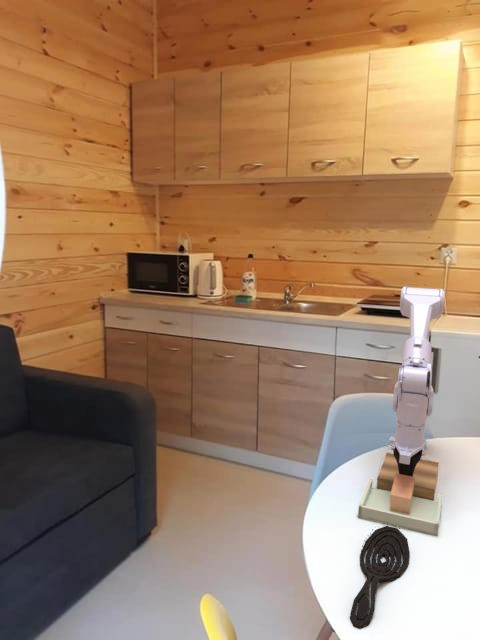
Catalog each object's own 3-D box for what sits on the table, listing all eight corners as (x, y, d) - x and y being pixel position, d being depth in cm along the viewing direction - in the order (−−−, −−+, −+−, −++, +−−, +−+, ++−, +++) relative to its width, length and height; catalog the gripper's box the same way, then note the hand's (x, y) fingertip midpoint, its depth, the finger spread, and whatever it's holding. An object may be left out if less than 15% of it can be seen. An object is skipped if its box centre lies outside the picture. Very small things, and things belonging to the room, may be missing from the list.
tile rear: (395, 483, 117) (395, 473, 116) (414, 487, 116) (414, 477, 115) (392, 496, 114) (392, 486, 113) (411, 501, 113) (412, 490, 111)
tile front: (392, 484, 113) (390, 494, 110) (412, 488, 111) (410, 499, 109) (392, 498, 114) (389, 509, 112) (411, 503, 113) (409, 513, 110)
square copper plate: (385, 463, 133) (386, 452, 133) (437, 474, 129) (438, 462, 128) (376, 490, 121) (377, 477, 120) (433, 502, 116) (434, 489, 115)
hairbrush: (330, 604, 82) (371, 516, 103) (329, 624, 83) (370, 533, 104) (386, 624, 78) (416, 529, 100) (384, 645, 79) (414, 546, 101)
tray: (369, 488, 121) (369, 478, 120) (441, 504, 115) (442, 493, 115) (357, 517, 110) (358, 506, 109) (437, 536, 104) (438, 524, 103)
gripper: (395, 407, 122) (391, 463, 125) (386, 430, 109) (381, 492, 112) (428, 412, 119) (423, 469, 122) (423, 437, 106) (416, 500, 109)
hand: (405, 481), depth 117 cm, fingers closed
